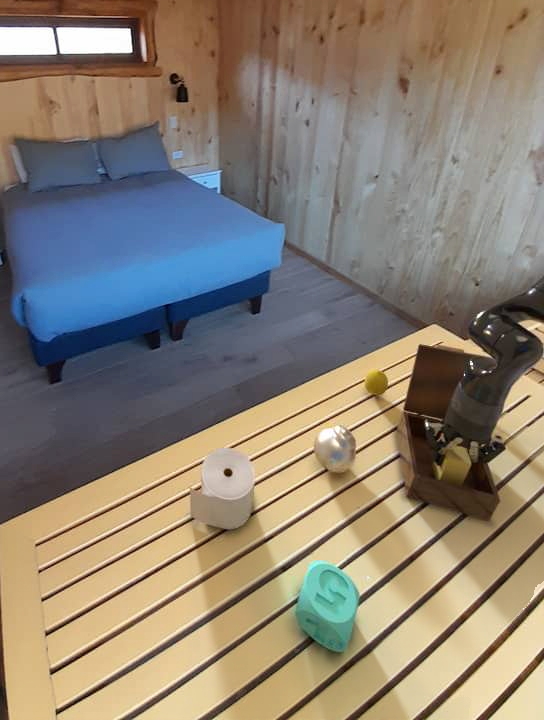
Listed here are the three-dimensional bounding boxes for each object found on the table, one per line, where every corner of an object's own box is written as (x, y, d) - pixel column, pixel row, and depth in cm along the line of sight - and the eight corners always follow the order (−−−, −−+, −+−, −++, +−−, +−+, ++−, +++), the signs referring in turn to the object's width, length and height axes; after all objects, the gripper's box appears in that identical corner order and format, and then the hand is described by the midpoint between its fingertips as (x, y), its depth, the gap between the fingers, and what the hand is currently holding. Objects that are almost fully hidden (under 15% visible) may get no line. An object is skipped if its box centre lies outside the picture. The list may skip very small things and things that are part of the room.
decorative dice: (292, 624, 66) (297, 600, 62) (308, 575, 72) (313, 551, 68) (342, 661, 62) (350, 638, 58) (354, 606, 68) (363, 582, 64)
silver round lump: (361, 481, 87) (370, 451, 83) (318, 481, 87) (324, 451, 83) (346, 443, 95) (353, 414, 91) (306, 444, 95) (311, 415, 91)
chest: (488, 521, 79) (500, 500, 76) (406, 497, 84) (413, 476, 81) (466, 448, 93) (475, 428, 90) (396, 430, 98) (402, 410, 95)
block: (453, 470, 86) (465, 442, 82) (458, 492, 82) (471, 464, 78) (432, 464, 88) (442, 437, 84) (436, 486, 83) (448, 458, 79)
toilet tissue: (260, 494, 85) (264, 464, 80) (234, 548, 76) (236, 518, 72) (217, 468, 90) (218, 438, 86) (187, 515, 81) (187, 485, 77)
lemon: (385, 390, 109) (391, 368, 105) (383, 404, 105) (389, 382, 101) (364, 382, 112) (369, 361, 108) (360, 396, 107) (366, 374, 104)
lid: (498, 360, 84) (489, 347, 89) (419, 345, 89) (415, 334, 94) (476, 427, 90) (469, 412, 94) (403, 410, 94) (400, 396, 99)
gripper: (512, 401, 76) (484, 459, 84) (428, 384, 81) (409, 440, 88) (528, 434, 70) (496, 493, 78) (436, 413, 74) (414, 471, 82)
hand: (450, 465), depth 83 cm, fingers closed on block, 4 cm apart
